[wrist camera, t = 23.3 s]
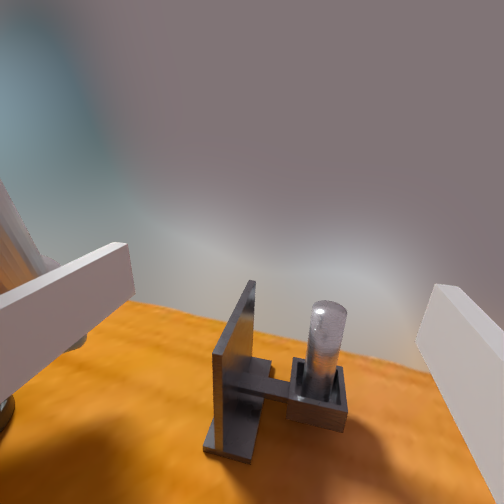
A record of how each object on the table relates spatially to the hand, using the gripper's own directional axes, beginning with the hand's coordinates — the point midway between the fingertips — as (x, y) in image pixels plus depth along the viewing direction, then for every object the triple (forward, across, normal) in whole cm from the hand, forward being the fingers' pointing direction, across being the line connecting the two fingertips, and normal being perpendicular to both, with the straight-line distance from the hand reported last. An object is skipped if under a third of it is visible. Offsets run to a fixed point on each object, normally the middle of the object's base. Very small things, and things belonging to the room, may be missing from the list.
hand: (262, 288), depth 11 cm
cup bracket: (+21, +1, -35) cm, 41 cm away
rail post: (+21, +6, -30) cm, 37 cm away
